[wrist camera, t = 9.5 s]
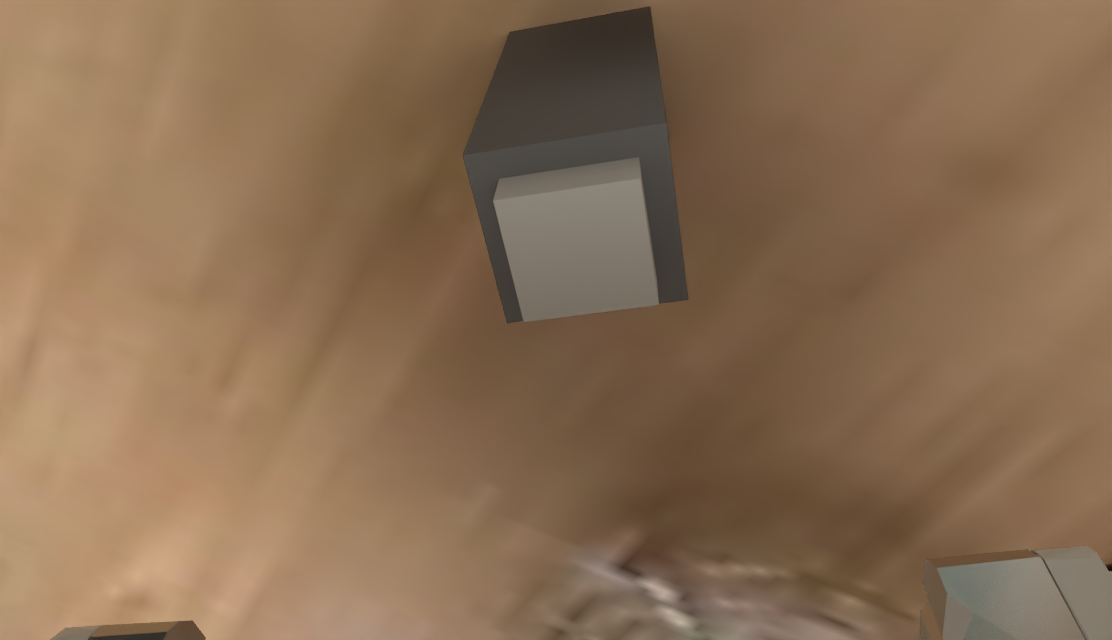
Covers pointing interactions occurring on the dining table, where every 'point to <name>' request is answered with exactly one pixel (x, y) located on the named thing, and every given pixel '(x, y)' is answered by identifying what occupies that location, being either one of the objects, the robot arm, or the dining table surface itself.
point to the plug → (578, 171)
